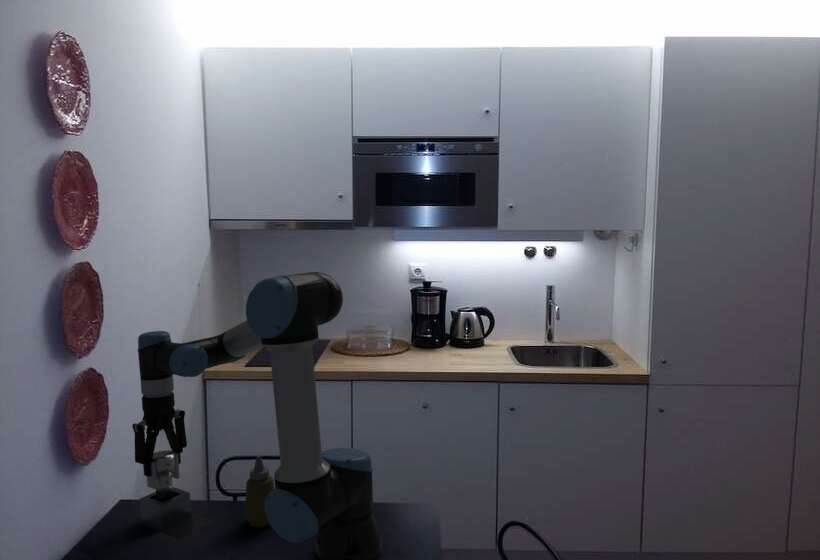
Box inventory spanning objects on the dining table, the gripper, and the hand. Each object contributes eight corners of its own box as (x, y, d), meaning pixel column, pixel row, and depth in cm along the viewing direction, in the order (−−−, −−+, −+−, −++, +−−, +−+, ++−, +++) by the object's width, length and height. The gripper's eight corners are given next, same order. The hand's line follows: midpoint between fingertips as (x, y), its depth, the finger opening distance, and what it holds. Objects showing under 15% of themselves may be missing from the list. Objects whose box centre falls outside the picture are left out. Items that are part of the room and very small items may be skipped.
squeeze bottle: (270, 535, 146) (266, 463, 144) (239, 532, 147) (235, 461, 145) (283, 518, 153) (280, 450, 152) (254, 516, 155) (251, 449, 153)
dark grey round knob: (182, 492, 153) (179, 453, 152) (161, 502, 148) (158, 461, 147) (167, 487, 157) (164, 448, 156) (146, 496, 151) (143, 456, 150)
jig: (213, 525, 151) (211, 497, 150) (179, 543, 143) (177, 514, 142) (173, 510, 160) (171, 484, 159) (139, 527, 151) (136, 499, 150)
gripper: (180, 382, 160) (185, 465, 162) (113, 401, 144) (120, 493, 146) (199, 385, 156) (204, 471, 158) (132, 405, 140) (138, 500, 142)
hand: (163, 482), depth 152 cm, fingers closed on dark grey round knob, 6 cm apart
